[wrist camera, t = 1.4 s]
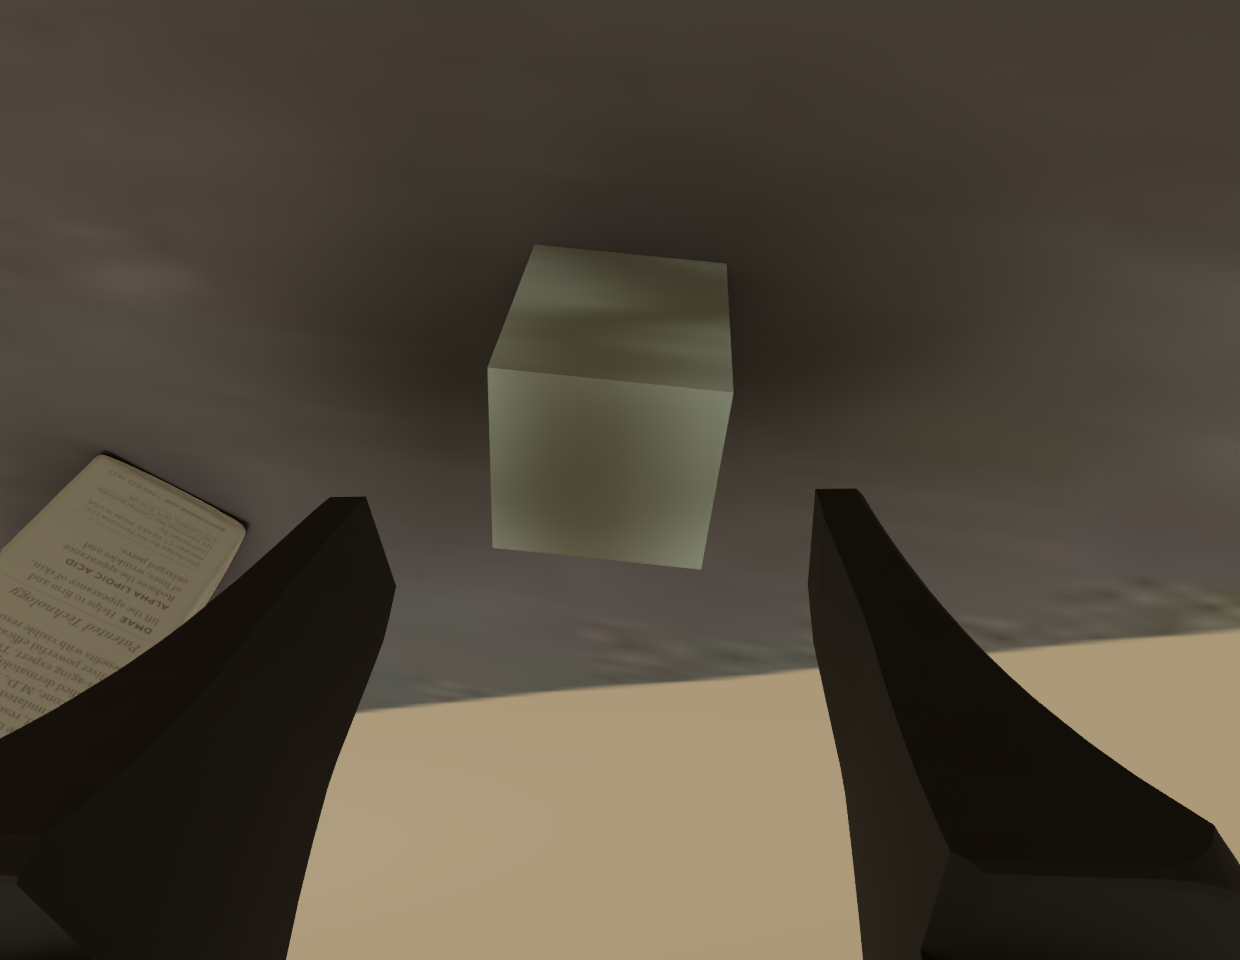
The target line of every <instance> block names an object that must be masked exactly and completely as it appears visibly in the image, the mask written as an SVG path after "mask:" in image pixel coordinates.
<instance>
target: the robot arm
mask: <svg viewBox="0 0 1240 960" xmlns="http://www.w3.org/2000/svg"><path fill="white" fill-rule="evenodd" d="M395 589H396V585H395V582H394V579H393V576H392V573H391V570H390V567H389V564H388V561H387V558H386V555H385V552H384V549H383V546H382V543H381V540H380V537H379V534H378V531H377V528H376V526H375V523H374V520H373V517H372V514H371V511H370V508H369V505H368V502H367V499H366V497H330V498H329V499H327V500H326V501H325V502H324V503H323V504H321V505H320V506H319V507H318V508H317V509H316V510H314V511H313V512H312V513H311V514H310V515H309V516H308V517H306V518H305V519H304V520H303V521H302V522H301V523H300V524H299V525H298V526H297V527H295V528H294V529H293V530H292V531H291V532H290V533H289V534H288V535H287V536H286V537H284V538H283V539H282V540H281V541H280V542H279V543H278V544H277V545H276V546H275V547H273V548H272V549H271V550H270V551H269V552H268V553H267V554H266V555H265V556H263V557H262V558H261V559H260V560H259V561H258V562H257V563H256V564H254V565H253V566H252V567H251V568H250V569H249V570H248V571H247V572H245V573H244V574H243V575H242V576H241V577H240V578H239V579H238V580H236V581H235V582H234V583H233V584H232V585H230V586H229V587H228V588H227V589H225V590H224V591H223V592H222V593H221V594H219V595H218V596H217V597H216V598H214V599H213V600H212V601H211V602H210V603H208V604H207V605H206V606H205V607H203V608H202V609H201V610H200V611H199V612H197V613H196V614H195V615H194V616H192V617H191V618H190V619H189V620H188V621H186V622H185V623H184V624H182V625H181V626H180V627H179V628H177V629H176V630H175V631H173V632H172V633H171V634H169V635H168V636H166V637H165V638H164V639H162V640H161V641H160V642H158V643H157V644H155V645H154V646H153V647H151V648H150V649H148V650H147V651H145V652H144V653H143V654H141V655H140V656H138V657H137V658H135V659H134V660H132V661H131V662H130V663H128V664H127V665H125V666H124V667H122V668H121V669H119V670H118V671H116V672H114V673H113V674H111V675H110V676H108V677H106V678H105V679H103V680H101V681H100V682H98V683H96V684H95V685H93V686H92V687H90V688H88V689H87V690H85V691H83V692H82V693H80V694H78V695H77V696H75V697H74V698H72V699H70V700H69V701H67V702H65V703H64V704H62V705H60V706H59V707H57V708H55V709H54V710H52V711H50V712H48V713H47V714H45V715H43V716H41V717H39V718H37V719H36V720H34V721H32V722H30V723H28V724H26V725H25V726H23V727H21V728H19V729H17V730H15V731H13V732H11V733H9V734H8V735H6V736H4V737H2V738H0V960H286V957H287V952H288V947H289V942H290V938H291V933H292V928H293V924H294V919H295V914H296V910H297V905H298V901H299V896H300V892H301V888H302V884H303V880H304V876H305V872H306V868H307V864H308V860H309V856H310V852H311V848H312V843H313V839H314V836H315V832H316V829H317V825H318V821H319V817H320V814H321V810H322V807H323V803H324V799H325V795H326V792H327V788H328V785H329V782H330V779H331V776H332V773H333V770H334V767H335V765H336V762H337V758H338V756H339V753H340V751H341V748H342V746H343V743H344V741H345V738H346V736H347V733H348V731H349V728H350V726H351V723H352V721H353V718H354V716H355V713H356V711H357V708H358V705H359V703H360V700H361V698H362V695H363V693H364V690H365V688H366V685H367V683H368V680H369V677H370V675H371V672H372V670H373V667H374V664H375V662H376V659H377V656H378V654H379V651H380V648H381V646H382V643H383V640H384V636H385V632H386V628H387V624H388V620H389V616H390V611H391V607H392V602H393V598H394V593H395ZM808 591H809V602H810V613H811V623H812V633H813V642H814V647H815V652H816V657H817V661H818V666H819V670H820V675H821V680H822V685H823V689H824V694H825V698H826V703H827V707H828V712H829V717H830V721H831V726H832V730H833V734H834V739H835V744H836V749H837V753H838V758H839V762H840V767H841V772H842V778H843V784H844V790H845V795H846V804H847V813H848V821H849V830H850V838H851V847H852V856H853V865H854V875H855V884H856V893H857V903H858V912H859V921H860V932H861V943H862V953H863V960H1240V864H1239V863H1238V861H1237V859H1236V858H1235V857H1234V855H1233V854H1232V852H1231V851H1230V849H1229V848H1228V846H1227V845H1226V843H1225V842H1224V840H1223V839H1222V837H1221V836H1220V834H1219V833H1218V831H1217V829H1216V828H1215V826H1214V825H1213V824H1212V823H1210V822H1208V821H1207V820H1205V819H1204V818H1202V817H1200V816H1199V815H1197V814H1196V813H1194V812H1192V811H1191V810H1189V809H1188V808H1186V807H1185V806H1183V805H1181V804H1180V803H1178V802H1177V801H1175V800H1174V799H1172V798H1170V797H1169V796H1167V795H1166V794H1164V793H1162V792H1161V791H1159V790H1158V789H1156V788H1155V787H1153V786H1151V785H1150V784H1148V783H1147V782H1145V781H1143V780H1142V779H1140V778H1139V777H1137V776H1136V775H1134V774H1133V773H1131V772H1130V771H1128V770H1127V769H1126V768H1124V767H1123V766H1121V765H1120V764H1119V763H1117V762H1116V761H1114V760H1113V759H1112V758H1110V757H1109V756H1107V755H1106V754H1105V753H1103V752H1102V751H1100V750H1099V749H1098V748H1096V747H1095V746H1093V745H1092V744H1091V743H1089V742H1088V741H1087V740H1085V739H1084V738H1083V737H1082V736H1080V735H1079V734H1078V733H1076V732H1075V731H1074V730H1073V729H1072V728H1070V727H1069V726H1068V725H1067V724H1065V723H1064V722H1063V721H1062V720H1060V719H1059V718H1058V717H1057V716H1055V715H1054V714H1053V713H1051V712H1050V711H1049V710H1048V709H1047V708H1046V707H1044V706H1043V705H1042V704H1041V703H1039V702H1038V701H1037V700H1036V699H1034V698H1033V697H1032V696H1031V695H1030V694H1029V693H1028V692H1027V691H1026V690H1024V689H1023V688H1022V687H1021V686H1020V685H1019V684H1018V683H1017V682H1016V681H1015V680H1013V679H1012V678H1011V677H1010V676H1009V675H1008V674H1007V673H1006V672H1005V671H1004V670H1003V669H1002V668H1001V667H1000V666H999V665H998V664H996V663H995V662H994V661H993V660H992V659H991V658H990V657H989V656H988V655H987V654H986V653H985V652H984V651H983V650H982V649H981V648H980V647H979V646H978V645H977V644H976V643H975V641H974V640H973V639H972V638H971V637H970V636H969V635H968V634H967V633H966V632H965V631H964V630H963V629H962V628H961V626H960V625H959V624H958V623H957V622H956V621H955V620H954V619H953V617H952V616H951V615H950V614H949V613H948V612H947V611H946V609H945V608H944V607H943V606H942V605H941V604H940V602H939V601H938V600H937V599H936V598H935V596H934V595H933V594H932V593H931V592H930V590H929V589H928V588H927V587H926V585H925V584H924V583H923V581H922V580H921V579H920V578H919V576H918V575H917V574H916V572H915V571H914V570H913V569H912V567H911V566H910V565H909V563H908V562H907V561H906V560H905V558H904V557H903V555H902V554H901V553H900V551H899V550H898V549H897V547H896V546H895V544H894V543H893V541H892V540H891V539H890V537H889V536H888V534H887V533H886V531H885V530H884V528H883V527H882V525H881V524H880V522H879V521H878V519H877V518H876V516H875V514H874V513H873V511H872V510H871V508H870V506H869V505H868V503H867V501H866V500H865V498H864V496H863V495H862V494H861V493H860V492H859V491H858V490H857V489H815V502H814V514H813V527H812V539H811V552H810V564H809V577H808Z"/></svg>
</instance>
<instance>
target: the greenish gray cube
mask: <svg viewBox="0 0 1240 960" xmlns="http://www.w3.org/2000/svg"><path fill="white" fill-rule="evenodd" d="M487 369H488V403H489V437H490V472H491V506H492V540H493V548H501V549H510V550H520V551H529V552H539V553H548V554H558V555H567V556H577V557H586V558H596V559H606V560H615V561H625V562H634V563H644V564H653V565H663V566H672V567H682V568H691V569H701V567H702V561H703V556H704V551H705V545H706V540H707V534H708V529H709V523H710V518H711V513H712V507H713V502H714V496H715V491H716V485H717V480H718V474H719V469H720V464H721V458H722V453H723V447H724V442H725V436H726V431H727V426H728V420H729V415H730V409H731V404H732V398H733V393H734V392H733V373H732V355H731V336H730V318H729V300H728V281H727V264H726V263H716V262H706V261H696V260H686V259H676V258H666V257H656V256H645V255H635V254H625V253H615V252H605V251H595V250H585V249H575V248H565V247H555V246H545V245H535V244H534V247H533V250H532V252H531V255H530V258H529V260H528V263H527V265H526V268H525V271H524V273H523V276H522V278H521V281H520V284H519V286H518V289H517V292H516V294H515V297H514V299H513V302H512V305H511V307H510V310H509V312H508V315H507V318H506V320H505V323H504V326H503V328H502V331H501V333H500V336H499V339H498V341H497V344H496V347H495V349H494V352H493V354H492V357H491V360H490V362H489V365H488V367H487Z"/></svg>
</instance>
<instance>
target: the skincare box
mask: <svg viewBox="0 0 1240 960" xmlns="http://www.w3.org/2000/svg"><path fill="white" fill-rule="evenodd" d="M245 533H246V530H245V528H244V526H243V525H242V524H241V523H239V522H238V521H236V520H235V519H233V518H231V517H229V516H227V515H226V514H224V513H222V512H220V511H219V510H217V509H215V508H214V507H212V506H210V505H208V504H206V503H204V502H203V501H201V500H199V499H197V498H195V497H193V496H191V495H189V494H187V493H185V492H183V491H181V490H179V489H177V488H175V487H174V486H172V485H170V484H167V483H166V482H164V481H162V480H160V479H158V478H156V477H154V476H152V475H149V474H147V473H145V472H143V471H141V470H139V469H137V468H135V467H132V466H130V465H128V464H126V463H123V462H121V461H119V460H116V459H114V458H111V457H109V456H106V455H98V456H97V457H95V458H94V459H93V460H92V461H91V462H90V463H89V464H88V465H87V466H86V467H85V468H84V469H83V470H82V471H81V472H80V473H79V474H78V475H77V476H76V477H75V478H74V479H73V480H72V481H71V482H70V483H69V484H68V485H67V486H66V487H65V488H64V489H63V490H62V491H61V492H60V493H59V494H58V495H57V496H56V497H55V498H54V499H53V500H52V501H51V502H50V503H49V504H48V505H47V506H46V507H45V508H44V509H43V510H42V511H41V512H40V513H39V514H37V515H36V516H35V517H34V518H33V519H32V520H31V521H30V522H29V523H28V524H27V525H26V526H25V527H24V528H23V529H22V530H21V531H20V532H19V533H18V534H17V535H16V536H15V537H14V538H13V539H12V540H11V541H10V542H9V543H8V544H7V545H6V546H5V547H4V548H3V549H2V550H1V551H0V738H2V737H4V736H6V735H8V734H9V733H11V732H13V731H15V730H17V729H19V728H21V727H23V726H25V725H26V724H28V723H30V722H32V721H34V720H36V719H37V718H39V717H41V716H43V715H45V714H47V713H48V712H50V711H52V710H54V709H55V708H57V707H59V706H60V705H62V704H64V703H65V702H67V701H69V700H70V699H72V698H74V697H75V696H77V695H78V694H80V693H82V692H83V691H85V690H87V689H88V688H90V687H92V686H93V685H95V684H96V683H98V682H100V681H101V680H103V679H105V678H106V677H108V676H110V675H111V674H113V673H114V672H116V671H118V670H119V669H121V668H122V667H124V666H125V665H127V664H128V663H130V662H131V661H132V660H134V659H135V658H137V657H138V656H140V655H141V654H143V653H144V652H145V651H147V650H148V649H150V648H151V647H153V646H154V645H155V644H157V643H158V642H160V641H161V640H162V639H164V638H165V637H166V636H168V635H169V634H171V633H172V632H173V631H175V630H176V629H177V628H179V627H180V626H181V625H182V624H184V623H185V622H186V621H188V620H189V619H190V618H191V617H192V616H194V615H195V614H196V613H197V612H199V611H200V610H201V609H202V608H203V607H205V606H206V604H207V602H208V601H209V599H210V598H211V596H212V595H213V593H214V591H215V590H216V588H217V586H218V585H219V583H220V581H221V580H222V578H223V576H224V574H225V572H226V571H227V569H228V567H229V565H230V563H231V562H232V560H233V558H234V556H235V554H236V552H237V551H238V549H239V547H240V545H241V543H242V541H243V538H244V536H245Z"/></svg>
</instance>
